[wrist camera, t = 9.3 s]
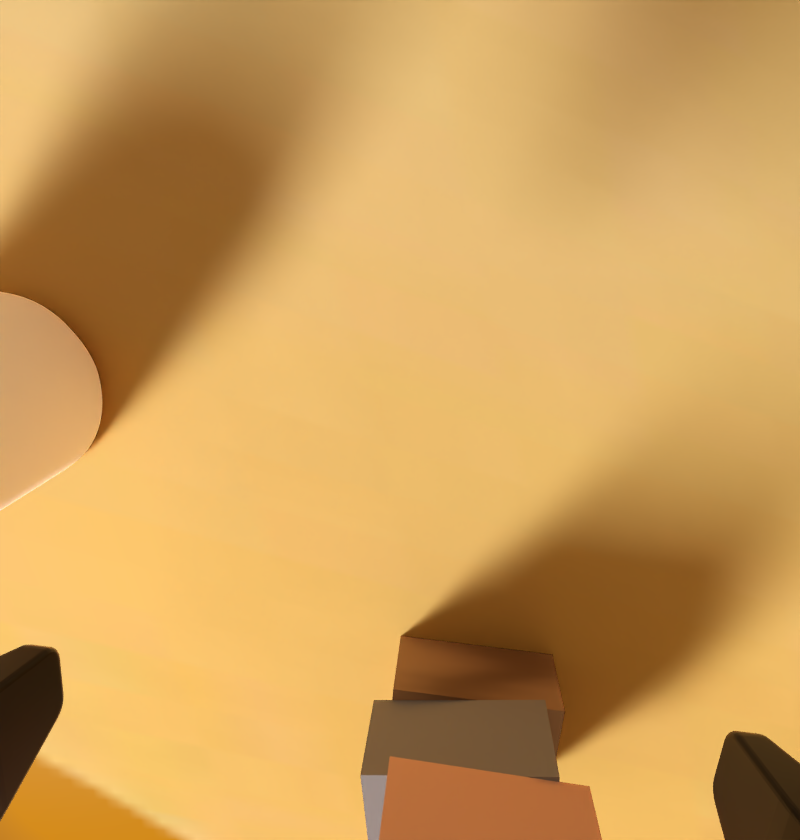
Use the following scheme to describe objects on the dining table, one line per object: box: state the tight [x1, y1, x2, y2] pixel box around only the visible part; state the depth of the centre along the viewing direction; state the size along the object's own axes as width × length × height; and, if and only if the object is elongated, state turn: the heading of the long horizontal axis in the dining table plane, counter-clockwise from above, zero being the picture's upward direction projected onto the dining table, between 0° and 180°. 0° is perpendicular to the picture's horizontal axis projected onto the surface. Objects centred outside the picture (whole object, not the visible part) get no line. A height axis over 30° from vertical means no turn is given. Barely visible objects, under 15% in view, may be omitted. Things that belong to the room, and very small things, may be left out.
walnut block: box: [392, 636, 565, 756], centre depth 23 cm, size 6×6×3 cm
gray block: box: [361, 700, 559, 840], centre depth 20 cm, size 6×6×3 cm
